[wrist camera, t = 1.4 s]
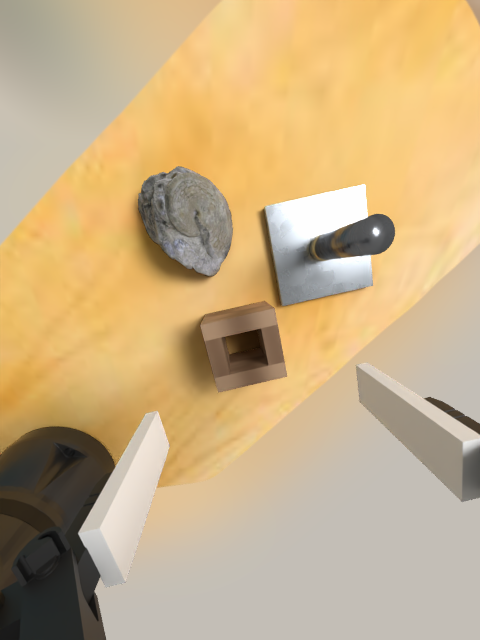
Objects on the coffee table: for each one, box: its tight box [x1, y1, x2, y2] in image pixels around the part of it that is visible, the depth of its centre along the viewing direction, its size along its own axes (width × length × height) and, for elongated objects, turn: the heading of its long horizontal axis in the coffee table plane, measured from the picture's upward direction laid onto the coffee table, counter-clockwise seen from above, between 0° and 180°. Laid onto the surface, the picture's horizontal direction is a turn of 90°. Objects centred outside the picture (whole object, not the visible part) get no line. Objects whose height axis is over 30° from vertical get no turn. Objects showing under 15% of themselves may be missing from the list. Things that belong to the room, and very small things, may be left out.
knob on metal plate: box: [264, 184, 395, 306], centre depth 23 cm, size 12×12×11 cm
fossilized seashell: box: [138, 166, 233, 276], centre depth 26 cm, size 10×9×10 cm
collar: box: [200, 301, 287, 392], centre depth 27 cm, size 8×8×6 cm
